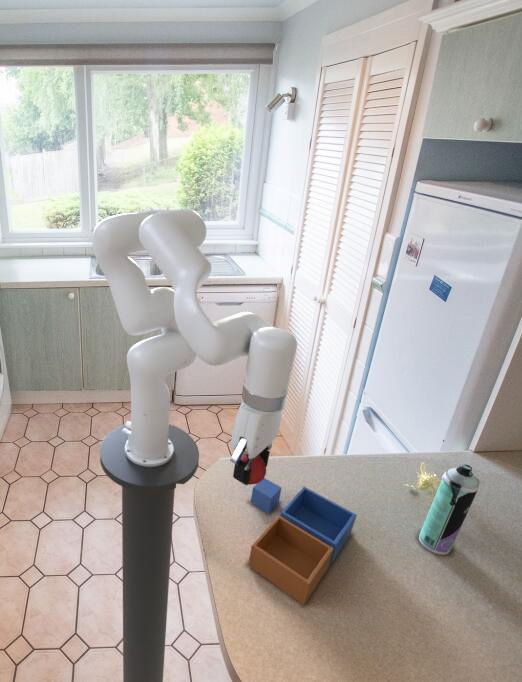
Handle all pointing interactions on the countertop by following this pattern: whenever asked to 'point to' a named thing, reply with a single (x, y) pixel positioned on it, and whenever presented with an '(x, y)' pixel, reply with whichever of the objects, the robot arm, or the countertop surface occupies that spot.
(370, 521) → the countertop surface
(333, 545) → the blue bin
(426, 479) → the pale yellow lumpy mass
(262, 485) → the blue block
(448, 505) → the spray can
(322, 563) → the brown bin
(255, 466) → the onion
